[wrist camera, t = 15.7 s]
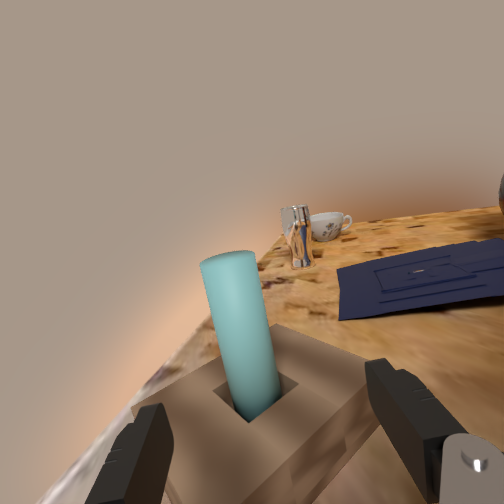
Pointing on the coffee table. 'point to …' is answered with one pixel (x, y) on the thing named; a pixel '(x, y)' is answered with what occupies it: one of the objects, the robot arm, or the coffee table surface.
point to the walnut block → (267, 427)
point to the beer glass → (298, 235)
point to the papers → (422, 278)
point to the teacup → (328, 225)
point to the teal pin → (242, 331)
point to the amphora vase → (501, 195)
